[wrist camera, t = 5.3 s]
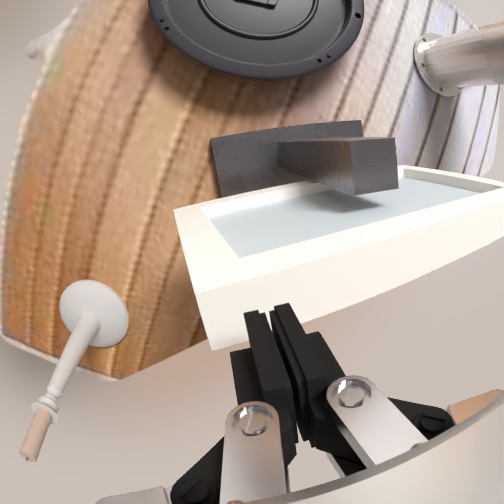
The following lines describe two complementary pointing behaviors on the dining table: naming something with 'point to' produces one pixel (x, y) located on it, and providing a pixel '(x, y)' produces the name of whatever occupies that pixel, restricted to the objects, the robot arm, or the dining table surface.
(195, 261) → the picture frame
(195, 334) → the dining table surface
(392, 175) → the frame stand
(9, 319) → the dining table surface
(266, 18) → the round tray
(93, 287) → the candlestick
